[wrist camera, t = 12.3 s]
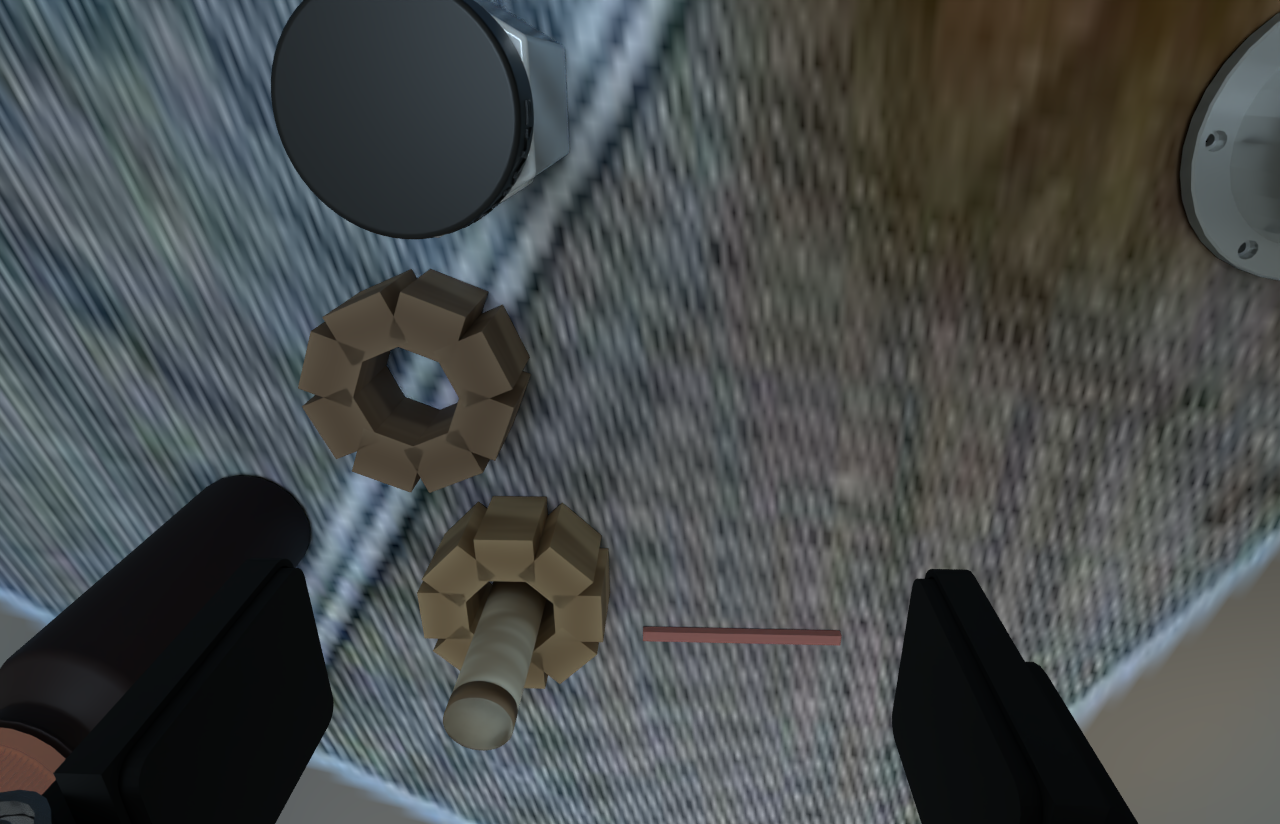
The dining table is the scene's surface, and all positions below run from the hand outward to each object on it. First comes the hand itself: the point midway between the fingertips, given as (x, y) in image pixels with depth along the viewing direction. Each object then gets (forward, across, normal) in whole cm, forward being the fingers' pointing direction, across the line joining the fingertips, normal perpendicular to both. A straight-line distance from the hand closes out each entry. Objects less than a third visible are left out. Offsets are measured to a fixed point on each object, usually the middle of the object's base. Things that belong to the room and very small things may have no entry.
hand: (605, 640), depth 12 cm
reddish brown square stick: (+28, -5, +24) cm, 37 cm away
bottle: (+28, +24, +16) cm, 41 cm away
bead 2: (+28, +8, +19) cm, 35 cm away
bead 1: (+28, +12, +6) cm, 31 cm away
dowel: (+28, +8, +19) cm, 35 cm away
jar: (+28, +8, -7) cm, 30 cm away
